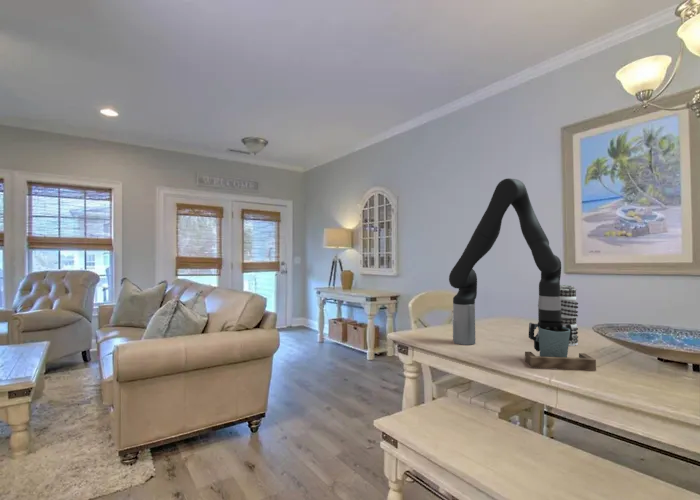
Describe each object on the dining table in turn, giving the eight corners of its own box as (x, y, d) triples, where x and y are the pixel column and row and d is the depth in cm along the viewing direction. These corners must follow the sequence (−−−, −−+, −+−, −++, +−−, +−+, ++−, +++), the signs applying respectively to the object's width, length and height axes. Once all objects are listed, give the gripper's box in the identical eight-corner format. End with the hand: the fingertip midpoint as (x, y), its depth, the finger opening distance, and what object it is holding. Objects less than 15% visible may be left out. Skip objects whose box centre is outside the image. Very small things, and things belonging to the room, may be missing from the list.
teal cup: (537, 354, 141) (537, 323, 140) (567, 357, 137) (567, 325, 136) (539, 363, 131) (539, 330, 131) (572, 366, 127) (572, 332, 127)
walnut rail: (531, 367, 127) (531, 357, 127) (525, 361, 135) (524, 351, 135) (596, 370, 123) (595, 359, 123) (585, 363, 131) (585, 353, 131)
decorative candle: (550, 340, 164) (549, 284, 165) (571, 340, 164) (570, 284, 164) (561, 346, 155) (560, 286, 156) (583, 346, 155) (582, 286, 155)
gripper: (532, 309, 135) (532, 353, 135) (574, 309, 133) (575, 355, 132) (526, 306, 142) (526, 348, 142) (566, 306, 140) (566, 349, 140)
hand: (550, 351), depth 137 cm, fingers open, 8 cm apart
